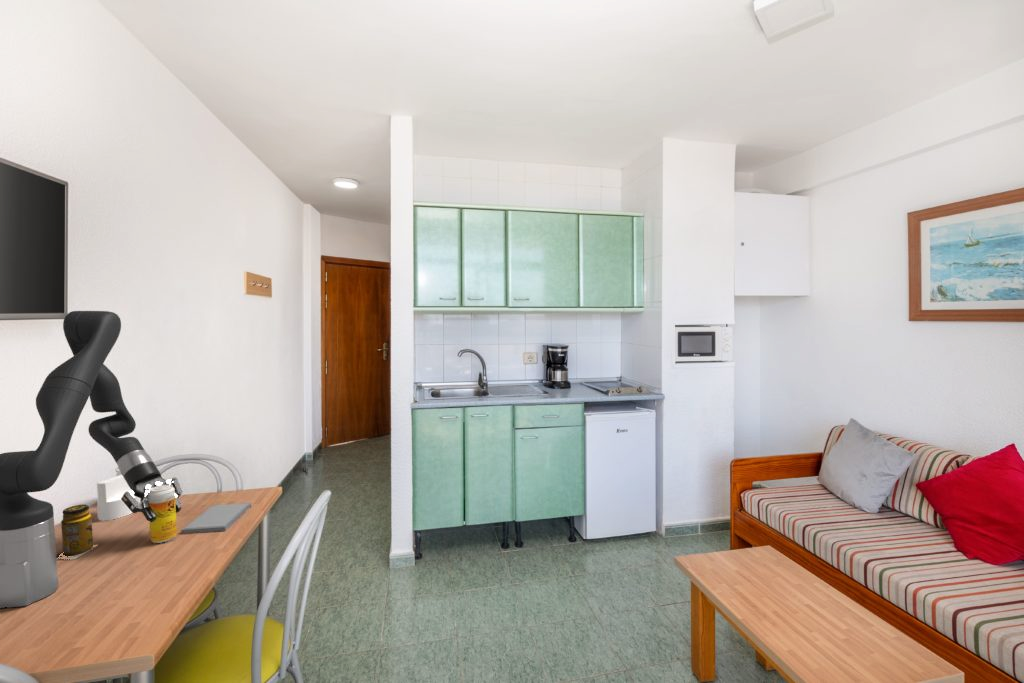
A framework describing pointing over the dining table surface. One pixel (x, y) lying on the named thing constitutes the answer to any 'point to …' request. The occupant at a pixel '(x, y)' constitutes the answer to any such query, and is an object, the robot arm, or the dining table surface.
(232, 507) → the grey flat slab
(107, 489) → the base with upright slab
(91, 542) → the condiment
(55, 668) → the dining table surface
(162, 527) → the beer can
